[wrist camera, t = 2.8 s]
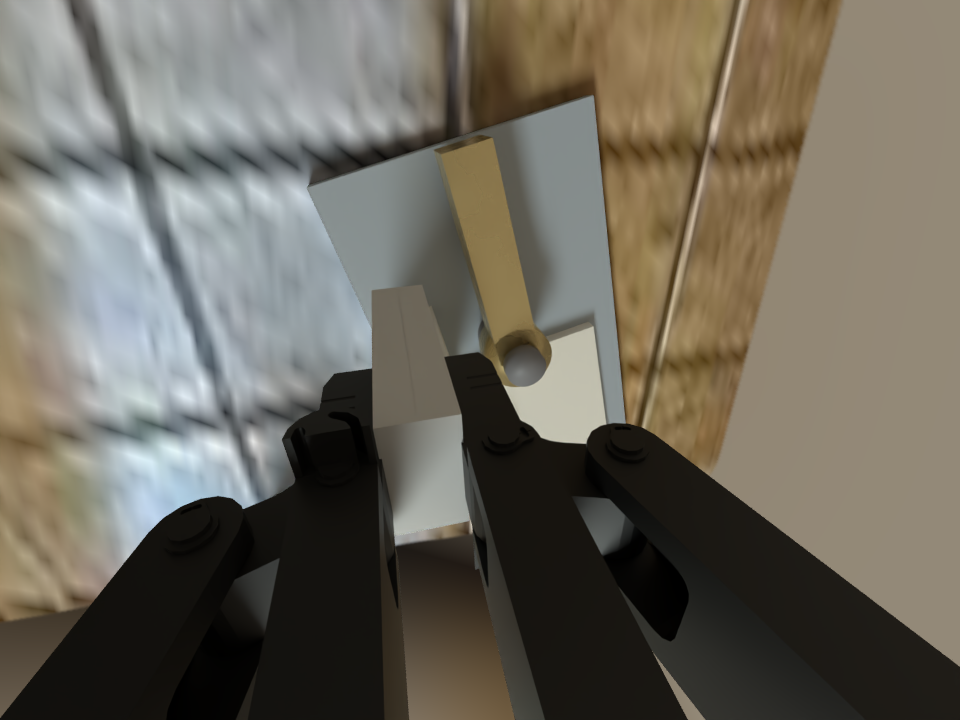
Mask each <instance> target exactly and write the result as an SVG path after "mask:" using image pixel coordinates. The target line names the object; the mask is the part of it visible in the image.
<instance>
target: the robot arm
mask: <svg viewBox="0 0 960 720" xmlns="http://www.w3.org/2000/svg"><path fill="white" fill-rule="evenodd" d="M282 441H283V444H284V447H285V450H286V453H287V456H288V458H289V461H290V464H291V467H292V470H293V473H294V476H295V483H294V484H293V485H292V486H291V487H289V488H288V489H286V490H285V491H283V492H281V493H279V494H277V495H275V496H273V497H271V498H269V499H267V500H264V501H262V502H260V503H257V504H255V505H252V506H250V507H248V508H245V509H242V506H241V505H240V504H238V503H237V502H236V501H235V500H233V499H232V498H226V497H220V496H217V497H210V498H203V499H199V500H197V501H194V502H192V503H189V504H187V505H184V506H182V507H180V508H178V509H177V510H175V511H174V512H172V513H171V514H169V515H167V516H166V517H164V518H163V519H162V520H161V521H160V522H159V523H158V524H157V525H156V526H155V527H154V528H153V529H152V530H151V531H150V532H149V533H148V534H147V535H146V537H145V538H144V539H143V540H142V542H141V543H140V544H139V545H138V547H137V548H136V549H135V550H134V552H133V553H132V554H131V555H130V557H129V558H128V559H127V560H126V562H125V563H124V564H123V565H122V567H121V568H120V569H119V570H118V572H117V573H116V574H115V575H114V577H113V578H112V579H111V580H110V582H109V583H108V584H107V585H106V587H105V588H104V589H103V590H102V592H101V593H100V594H99V595H98V597H97V598H96V599H95V600H94V602H93V603H92V604H91V605H90V607H89V608H88V609H87V610H86V612H85V613H84V614H83V615H82V617H81V618H80V619H79V620H78V622H77V623H76V624H75V625H74V627H73V628H72V629H71V630H70V632H69V633H68V634H67V635H66V637H65V638H64V639H63V641H62V642H61V643H60V644H59V645H58V647H57V648H56V649H55V650H54V652H53V653H52V654H51V656H50V657H49V658H48V659H47V660H46V662H45V663H44V664H43V665H42V667H41V668H40V669H39V671H38V672H37V673H36V674H35V675H34V677H33V678H32V679H31V680H30V682H29V683H28V684H27V685H26V687H25V688H24V689H23V690H22V692H21V693H20V694H19V695H18V697H17V698H16V699H15V700H14V702H13V703H12V704H11V705H10V707H9V708H8V709H7V710H6V712H5V713H4V714H3V715H2V717H1V718H0V720H409V714H408V713H409V712H408V697H407V683H406V670H405V669H406V668H405V654H404V653H405V652H404V638H403V623H402V608H401V593H400V578H399V564H398V557H397V553H396V548H395V540H394V533H395V536H399V535H404V534H408V533H413V532H418V531H423V530H428V529H432V528H437V527H442V526H447V525H452V524H456V523H461V522H466V521H469V515H470V519H471V523H472V528H473V542H474V557H475V569H480V574H481V578H482V582H483V586H484V590H485V595H486V599H487V603H488V607H489V612H490V616H491V620H492V624H493V628H494V632H495V637H496V641H497V645H498V649H499V654H500V658H501V662H502V666H503V671H504V675H505V679H506V683H507V687H508V692H509V696H510V700H511V704H512V709H513V713H514V717H515V720H688V719H687V717H686V716H685V714H684V712H683V710H682V708H681V706H680V704H679V702H678V700H677V698H676V696H675V694H674V692H673V690H672V689H671V687H670V685H669V683H668V681H667V679H666V677H665V675H664V673H663V671H662V669H661V667H660V665H659V664H658V662H657V660H656V658H655V656H654V654H655V655H656V656H657V658H658V659H659V660H660V662H661V663H662V664H663V666H664V667H665V668H666V669H667V671H668V672H669V673H670V674H671V676H672V677H673V678H674V680H675V681H676V682H677V684H678V685H679V686H680V687H681V689H682V690H683V691H684V693H685V694H686V695H687V696H688V698H689V699H690V700H691V701H692V703H693V704H694V705H695V707H696V708H697V709H698V710H699V712H700V713H701V714H702V716H703V717H704V718H705V719H706V720H960V667H959V666H958V665H957V664H955V663H954V662H953V661H951V660H950V659H949V658H948V657H946V656H945V655H943V654H942V653H941V652H940V651H938V650H937V649H935V648H934V647H933V646H932V645H930V644H929V643H928V642H927V641H925V640H924V639H923V638H921V637H920V636H918V635H917V634H916V633H915V632H913V631H912V630H910V629H909V628H908V627H907V626H905V625H904V624H903V623H902V622H900V621H899V620H898V619H896V618H895V617H894V616H892V615H891V614H889V613H888V612H887V611H886V610H884V609H883V608H882V607H881V606H879V605H878V604H876V603H875V602H874V601H873V600H871V599H870V598H869V597H867V596H866V595H865V594H863V593H862V592H861V591H859V590H858V589H857V588H856V587H854V586H853V585H852V584H850V583H849V582H848V581H846V580H845V579H844V578H842V577H841V576H840V575H839V574H837V573H836V572H835V571H833V570H832V569H831V568H829V567H828V566H827V565H825V564H824V563H823V562H821V561H820V560H819V559H817V558H816V557H815V556H813V555H812V554H811V553H810V552H808V551H807V550H806V549H804V548H803V547H802V546H800V545H799V544H798V543H796V542H795V541H794V540H793V539H791V538H790V537H789V536H787V535H786V534H785V533H783V532H782V531H780V530H779V529H778V528H777V527H775V526H774V525H773V524H772V523H770V522H769V521H767V520H766V519H765V518H764V517H762V516H761V515H760V514H758V513H757V512H756V511H754V510H753V509H752V508H750V507H749V506H748V505H747V504H745V503H744V502H743V501H741V500H740V499H739V498H737V497H736V496H735V495H733V494H732V493H731V492H729V491H728V490H727V489H726V488H724V487H723V486H722V485H720V484H719V483H718V482H716V481H715V480H714V479H712V478H711V477H710V476H708V475H707V474H706V473H705V472H703V471H702V470H701V469H699V468H698V467H697V466H695V465H694V464H693V463H691V462H690V461H689V460H687V459H686V458H685V457H684V456H682V455H681V454H680V453H678V452H677V451H676V450H674V449H673V448H672V447H670V446H669V445H668V444H666V443H665V442H664V441H663V440H661V439H660V438H659V437H657V436H656V435H654V434H653V433H651V432H649V431H647V430H646V429H644V428H641V427H638V426H634V425H631V424H625V423H611V424H606V425H601V426H599V427H598V428H596V429H595V430H593V431H591V433H590V435H589V437H588V439H587V443H586V444H581V443H564V442H556V441H550V440H547V439H544V438H541V437H540V435H539V434H538V432H537V431H536V430H535V429H534V428H533V427H532V426H531V425H529V424H527V423H525V422H523V421H521V420H520V418H519V416H518V414H517V412H516V410H515V408H514V406H513V404H512V402H511V400H510V398H509V396H508V394H507V392H506V390H505V388H504V386H503V385H502V381H501V379H500V377H499V375H497V371H496V369H495V367H494V365H493V363H492V361H491V360H489V359H488V358H486V357H485V356H484V355H482V354H481V353H479V352H475V353H468V354H461V355H454V356H447V357H444V355H443V352H442V348H441V345H440V342H439V338H438V335H437V332H436V328H435V325H434V322H433V319H432V315H431V312H430V309H429V305H428V302H427V299H426V296H425V292H424V289H423V286H422V285H414V286H404V287H395V288H386V289H377V290H372V369H365V370H358V371H351V372H344V373H337V374H334V375H333V376H332V377H331V378H330V380H329V381H328V382H327V383H326V384H325V386H324V387H323V392H322V398H321V404H320V410H319V411H315V412H312V413H310V414H308V415H306V416H304V417H302V418H300V419H299V420H298V421H296V422H295V423H294V424H293V425H292V426H291V427H289V428H288V430H287V431H286V433H285V435H284V437H283V438H282ZM652 651H653V652H652ZM653 653H654V654H653Z"/></svg>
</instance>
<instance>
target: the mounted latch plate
mask: <svg viewBox="0 0 960 720" xmlns="http://www.w3.org/2000/svg"><path fill="white" fill-rule="evenodd" d="M478 135H484V136H488V137H492V138H493V140H494V145H495V150H496V154H497V159H498V163H499V168H500V172H501V177H502V182H503V186H504V191H505V195H506V200H507V204H508V209H509V214H510V218H511V223H512V227H513V232H514V236H515V241H516V246H517V250H518V255H519V259H520V264H521V268H522V273H523V278H524V282H525V287H526V291H527V296H528V300H529V305H530V310H531V314H532V319H533V321H534V323H535V324H536V325H537V327H538V328H539V329H540V330H541V332H542V333H543V334H544V335H545V337H546V338H547V339H548V341H549V343H550V345H551V349H552V357H551V362H550V364H549V366H548V368H547V370H546V361H545V359H544V357H543V356H542V354H541V353H540V351H539V350H538V349H537V348H536V347H534V346H531V345H520V346H517V347H515V348H513V349H512V350H511V351H510V352H509V353H508V354H507V355H506V357H505V359H504V362H503V369H504V372H505V374H506V375H507V377H508V379H509V381H510V382H511V383H512V384H514V385H516V386H519V387H508V386H505V385H503V386H504V388H505V390H506V392H507V394H508V396H509V398H510V400H511V402H512V404H513V406H514V408H515V410H516V412H517V414H518V416H519V418H520V420H521V421H523V422H525V423H527V424H529V425H531V426H532V427H533V428H534V429H535V430H536V431H537V432H538V434H539V435H540V437H541V438H544V439H547V440H550V441H556V442H564V443H581V444H586V443H587V439H588V437H589V435H590V433H591V431H593V430H595V429H596V428H598V427H599V426H601V425H606V424H611V423H625V412H624V402H623V392H622V382H621V371H620V361H619V351H618V341H617V330H616V320H615V310H614V299H613V289H612V279H611V269H610V258H609V248H608V238H607V228H606V217H605V207H604V197H603V187H602V176H601V166H600V156H599V146H598V135H597V125H596V115H595V105H594V95H589V96H583V97H580V98H577V99H574V100H571V101H568V102H564V103H561V104H558V105H555V106H552V107H549V108H546V109H543V110H540V111H537V112H533V113H530V114H527V115H524V116H521V117H518V118H515V119H512V120H509V121H505V122H502V123H499V124H496V125H493V126H490V127H487V128H484V129H481V130H478V131H474V132H471V133H468V134H465V135H462V136H459V137H456V138H453V139H450V140H447V141H443V142H440V143H437V144H434V145H431V146H428V147H425V148H422V149H419V150H416V151H412V152H409V153H406V154H403V155H400V156H397V157H394V158H391V159H388V160H384V161H381V162H378V163H375V164H372V165H369V166H366V167H363V168H360V169H357V170H353V171H350V172H347V173H344V174H341V175H338V176H335V177H332V178H329V179H326V180H322V181H319V182H316V183H313V184H310V185H308V187H307V190H308V192H309V194H310V196H311V198H312V200H313V203H314V205H315V207H316V209H317V211H318V213H319V216H320V218H321V220H322V222H323V224H324V226H325V229H326V231H327V233H328V235H329V237H330V240H331V242H332V244H333V246H334V248H335V250H336V253H337V255H338V257H339V259H340V261H341V263H342V266H343V268H344V270H345V272H346V274H347V276H348V279H349V281H350V283H351V285H352V287H353V289H354V292H355V294H356V296H357V298H358V300H359V302H360V305H361V307H362V309H363V311H364V313H365V315H366V318H367V320H368V322H369V324H370V326H371V328H372V290H377V289H386V288H395V287H404V286H414V285H422V286H423V289H424V292H425V296H426V299H427V302H428V305H429V309H430V312H431V315H432V319H433V322H434V325H435V328H436V332H437V335H438V338H439V342H440V345H441V348H442V352H443V355H444V357H447V356H454V355H461V354H468V353H475V352H479V353H481V352H480V349H479V337H480V334H481V331H482V329H483V328H484V326H485V325H484V322H483V318H482V315H481V311H480V308H479V305H478V301H477V298H476V294H475V291H474V287H473V284H472V281H471V277H470V274H469V270H468V267H467V264H466V260H465V257H464V253H463V250H462V246H461V243H460V240H459V236H458V233H457V229H456V226H455V222H454V219H453V216H452V212H451V209H450V205H449V202H448V198H447V195H446V192H445V188H444V185H443V181H442V178H441V174H440V171H439V168H438V164H437V161H436V157H435V154H434V149H437V148H440V147H443V146H447V145H450V144H453V143H456V142H459V141H462V140H465V139H468V138H471V137H474V136H478ZM625 424H626V423H625Z"/></svg>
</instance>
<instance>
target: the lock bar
mask: <svg viewBox="0 0 960 720" xmlns="http://www.w3.org/2000/svg"><path fill="white" fill-rule="evenodd" d="M434 154H435V157H436V161H437V164H438V168H439V171H440V174H441V178H442V181H443V185H444V188H445V192H446V195H447V198H448V202H449V205H450V209H451V212H452V216H453V219H454V222H455V226H456V229H457V233H458V236H459V240H460V243H461V246H462V250H463V253H464V257H465V260H466V264H467V267H468V270H469V274H470V277H471V281H472V284H473V287H474V291H475V294H476V298H477V301H478V305H479V308H480V311H481V315H482V318H483V322H484V325H485V326H484V328H483V329H482V331H481V334H480V337H479V349H480V352H481V354H482V355H484V356H485V357H486V358H488V359H489V360H491V361H492V363H493V365H494V367H495V369H496V371H497V375H499V377H500V379H501V381H502V385H505V386H508V387H519V386H516V385H514V384H512V383H511V382H510V381H509V379H508V377H507V375H506V374H505V372H504V369H503V362H504V359H505V357H506V355H507V354H508V353H509V352H510V351H511V350H512V349H513V348H515V347H517V346H520V345H531V346H534V347H536V348H537V349H538V350H539V351H540V353H541V354H542V356H543V357H544V359H545V361H546V370H547V368H548V366H549V364H550V362H551V357H552V349H551V345H550V343H549V341H548V339H547V338H546V337H545V335H544V334H543V333H542V332H541V330H540V329H539V328H538V327H537V325H536V324H535V323H534V321H533V319H532V314H531V310H530V305H529V300H528V296H527V291H526V287H525V282H524V278H523V273H522V268H521V264H520V259H519V255H518V250H517V246H516V241H515V236H514V232H513V227H512V223H511V218H510V214H509V209H508V204H507V200H506V195H505V191H504V186H503V182H502V177H501V172H500V168H499V163H498V159H497V154H496V150H495V145H494V140H493V138H492V137H488V136H484V135H478V136H474V137H471V138H468V139H465V140H462V141H459V142H456V143H453V144H450V145H447V146H443V147H440V148H437V149H434Z"/></svg>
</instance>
